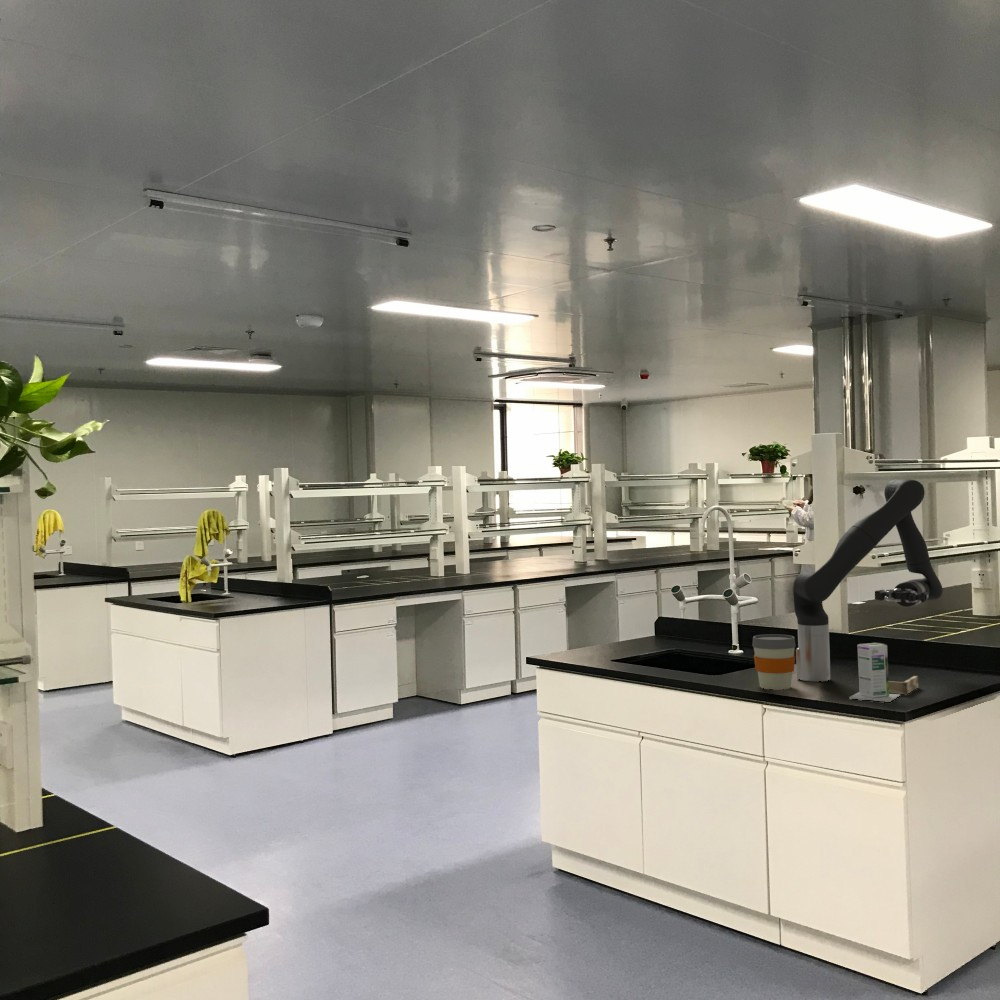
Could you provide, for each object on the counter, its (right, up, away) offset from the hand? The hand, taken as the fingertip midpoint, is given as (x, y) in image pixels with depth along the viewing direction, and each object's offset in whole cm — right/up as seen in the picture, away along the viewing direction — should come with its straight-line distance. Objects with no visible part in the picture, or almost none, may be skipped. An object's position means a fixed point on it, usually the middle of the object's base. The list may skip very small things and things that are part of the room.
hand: (894, 597), depth 289 cm
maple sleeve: (-2, -27, -2) cm, 27 cm away
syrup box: (-10, -26, -11) cm, 31 cm away
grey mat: (-10, -27, -12) cm, 31 cm away
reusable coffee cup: (-32, -28, +9) cm, 44 cm away
